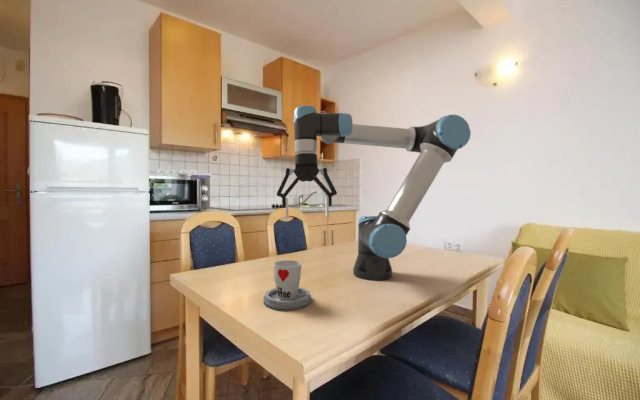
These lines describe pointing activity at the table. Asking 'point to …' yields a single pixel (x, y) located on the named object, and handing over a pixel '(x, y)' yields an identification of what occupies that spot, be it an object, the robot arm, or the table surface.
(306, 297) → the tray
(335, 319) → the table surface
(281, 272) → the cup
